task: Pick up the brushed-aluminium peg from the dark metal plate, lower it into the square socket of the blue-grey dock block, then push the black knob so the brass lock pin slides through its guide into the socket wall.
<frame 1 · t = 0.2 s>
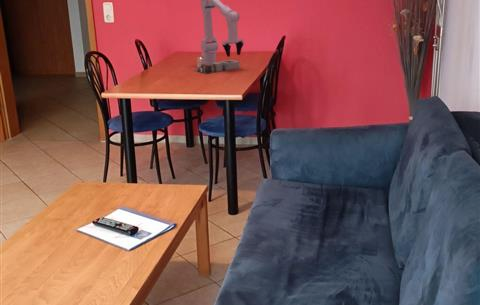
hand: (233, 55, 344), 10 cm above the table, fingers open, 7 cm apart
pin guide: (217, 70, 349), resting on base plate
socket: (229, 68, 354), resting on base plate
lock pin: (213, 67, 347), point 3 cm above the table, slide at 0.0 cm
peg: (200, 70, 349), point 1 cm above the table, touching base plate
base plate: (216, 71, 351), on the table
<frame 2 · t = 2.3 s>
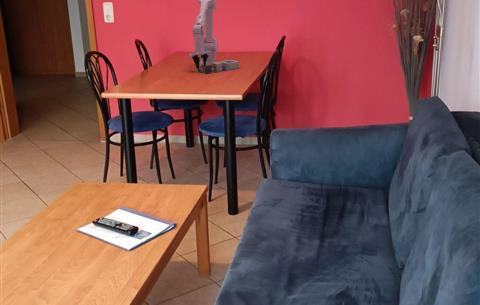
hand: (200, 67, 348), 3 cm above the table, fingers closed on peg, 4 cm apart
peg: (200, 70, 349), point 1 cm above the table, touching base plate, gripper
everything else where it was.
when the fingers open (5 cm above the table, at t = 5.5 s): peg drops 2 cm, resting on base plate.
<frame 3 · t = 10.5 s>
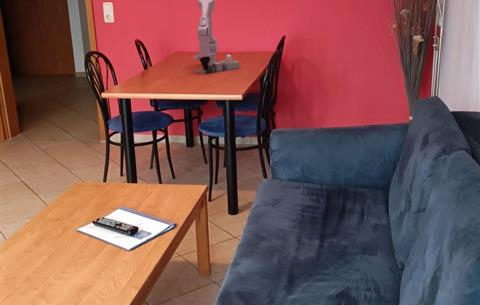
hand: (205, 69, 344), 2 cm above the table, fingers closed
lock pin: (214, 67, 347), point 3 cm above the table, slide at 0.7 cm, touching gripper
peg: (228, 68, 354), point 1 cm above the table, touching base plate
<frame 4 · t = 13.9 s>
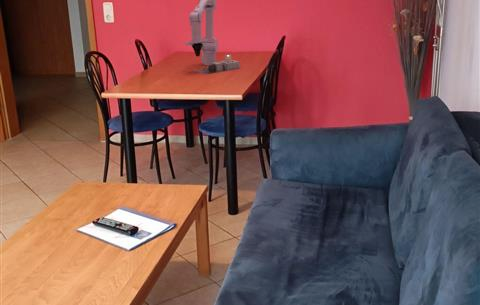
hand: (197, 56, 343), 10 cm above the table, fingers closed
lock pin: (217, 67, 349), point 3 cm above the table, slide at 2.6 cm
everything else where it was.
at the end: peg 0.2 cm off-centre on the socket, point 0.1 cm above the socket's base; peg tilted 2°; lock pin slide at 2.6 cm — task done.
